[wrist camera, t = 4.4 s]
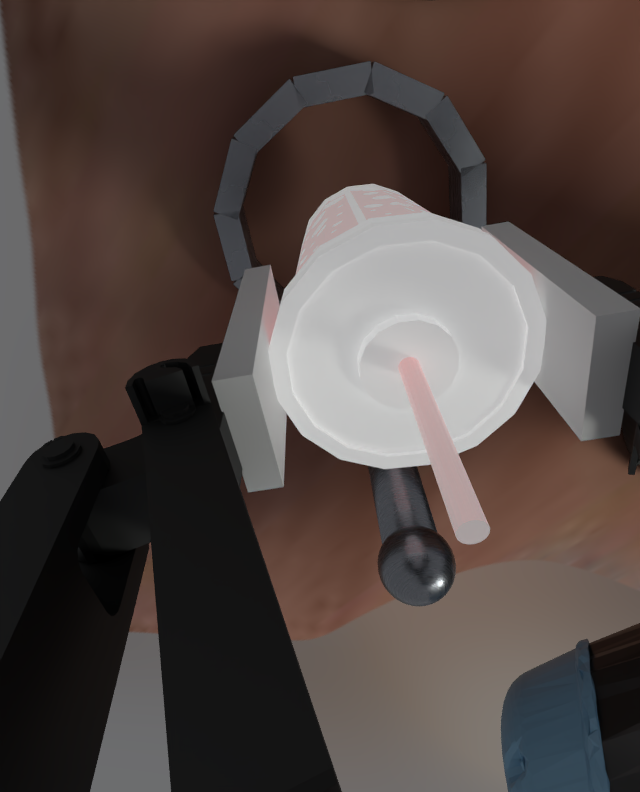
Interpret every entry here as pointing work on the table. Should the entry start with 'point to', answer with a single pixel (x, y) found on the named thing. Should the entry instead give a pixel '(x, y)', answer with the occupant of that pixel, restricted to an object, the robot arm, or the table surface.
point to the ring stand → (392, 488)
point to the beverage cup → (405, 340)
